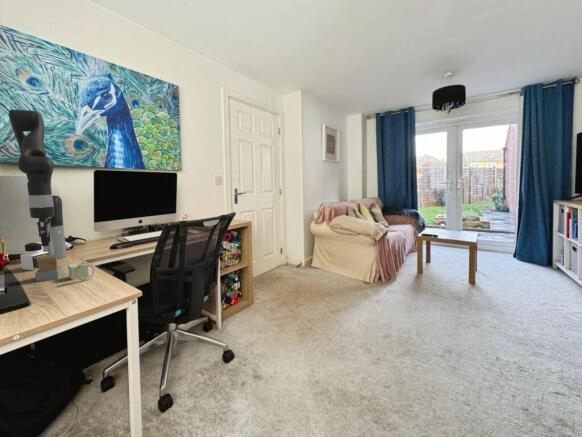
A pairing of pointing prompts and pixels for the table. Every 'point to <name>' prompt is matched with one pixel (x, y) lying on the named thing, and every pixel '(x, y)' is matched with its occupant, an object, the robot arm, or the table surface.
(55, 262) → the walnut cube
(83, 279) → the bracelet
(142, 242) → the table surface
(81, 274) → the sage cube
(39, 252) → the medicine bottle
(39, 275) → the base block
